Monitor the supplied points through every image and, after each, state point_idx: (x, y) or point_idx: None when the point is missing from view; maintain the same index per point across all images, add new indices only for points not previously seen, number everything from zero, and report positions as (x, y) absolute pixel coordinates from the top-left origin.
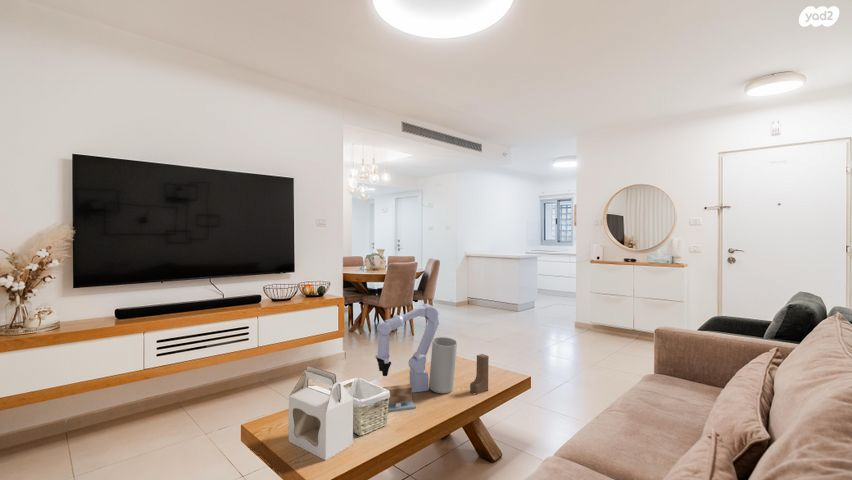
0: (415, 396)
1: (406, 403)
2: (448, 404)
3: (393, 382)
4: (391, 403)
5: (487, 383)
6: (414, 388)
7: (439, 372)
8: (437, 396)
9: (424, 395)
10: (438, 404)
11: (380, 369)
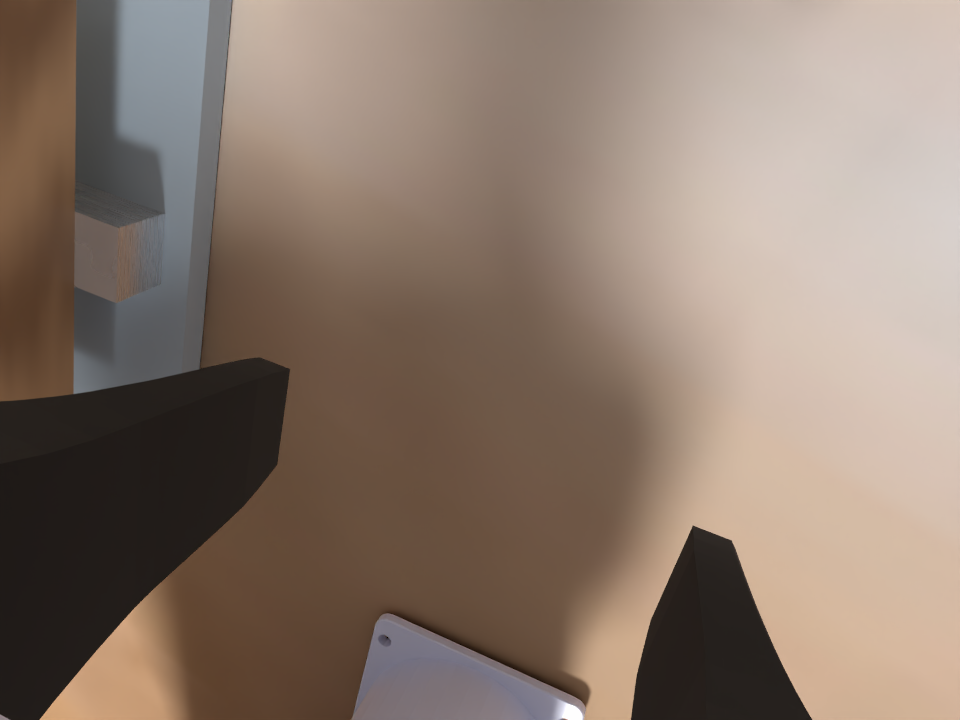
0: (275, 573)
1: None
2: None
3: (925, 710)
4: (117, 173)
5: None
6: (379, 689)
7: None
8: (185, 716)
9: (258, 655)
10: None
11: (678, 576)
